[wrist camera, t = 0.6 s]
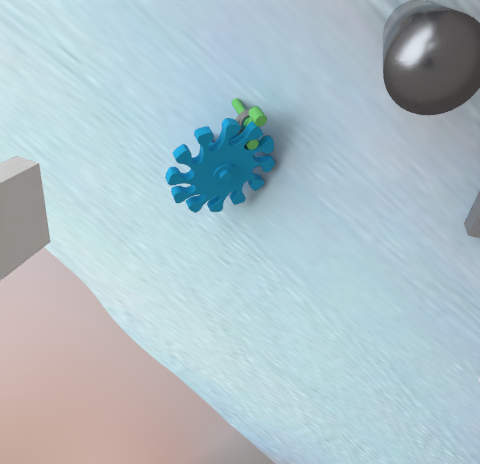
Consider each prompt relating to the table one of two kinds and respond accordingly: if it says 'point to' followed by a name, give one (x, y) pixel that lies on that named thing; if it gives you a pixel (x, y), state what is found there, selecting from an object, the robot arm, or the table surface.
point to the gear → (223, 161)
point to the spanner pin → (430, 57)
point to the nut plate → (474, 219)
